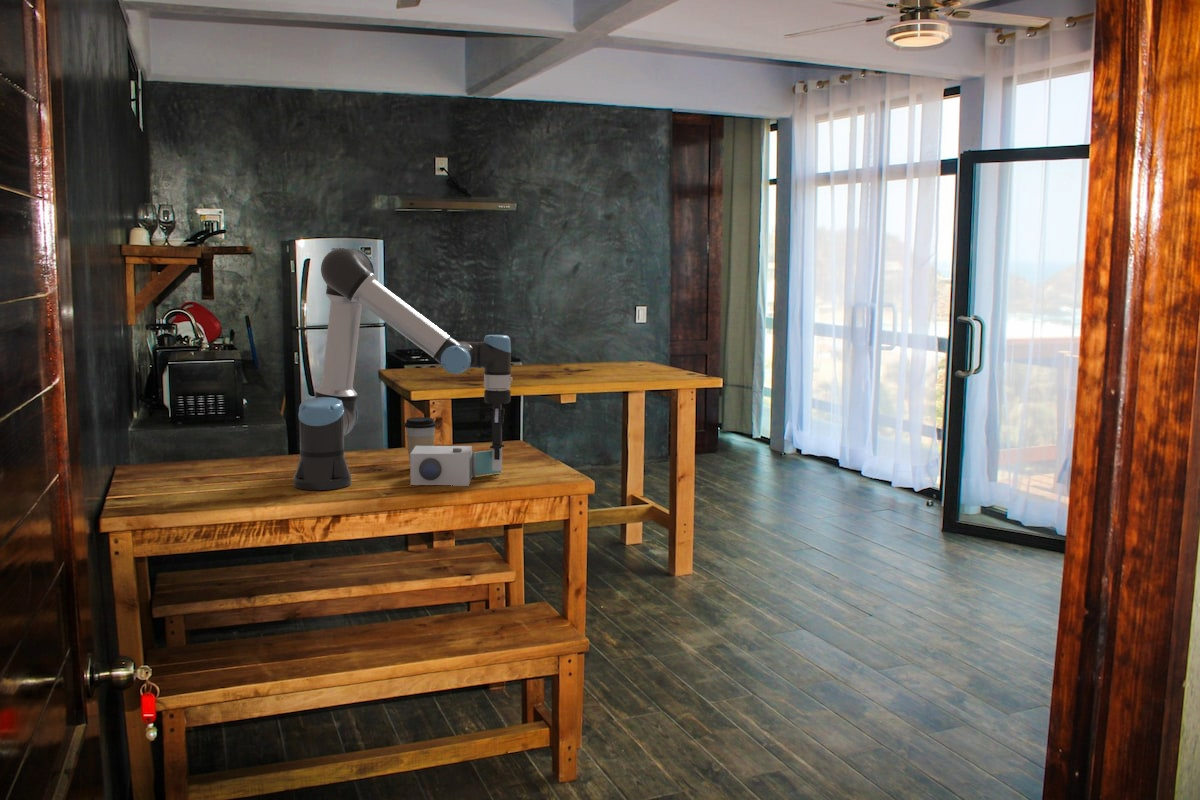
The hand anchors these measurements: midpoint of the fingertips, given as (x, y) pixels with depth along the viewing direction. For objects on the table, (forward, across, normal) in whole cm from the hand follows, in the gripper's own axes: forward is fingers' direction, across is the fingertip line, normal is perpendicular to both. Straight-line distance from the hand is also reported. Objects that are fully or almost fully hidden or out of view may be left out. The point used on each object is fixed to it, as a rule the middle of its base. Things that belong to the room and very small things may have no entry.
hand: (497, 470), depth 284 cm
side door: (+2, +1, +3) cm, 4 cm away
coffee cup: (+2, +11, +23) cm, 26 cm away
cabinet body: (+2, -6, +15) cm, 17 cm away
